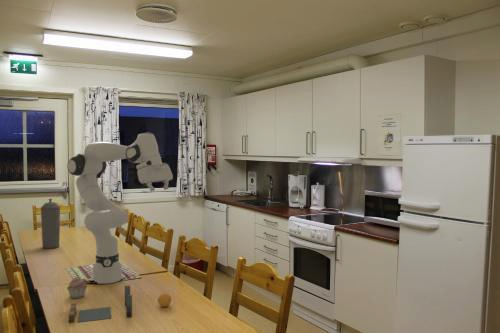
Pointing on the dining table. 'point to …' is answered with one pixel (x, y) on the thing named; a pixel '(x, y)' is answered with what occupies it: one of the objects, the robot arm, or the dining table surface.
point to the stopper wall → (72, 313)
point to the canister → (50, 224)
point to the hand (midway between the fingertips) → (159, 190)
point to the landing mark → (94, 314)
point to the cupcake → (77, 287)
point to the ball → (164, 300)
